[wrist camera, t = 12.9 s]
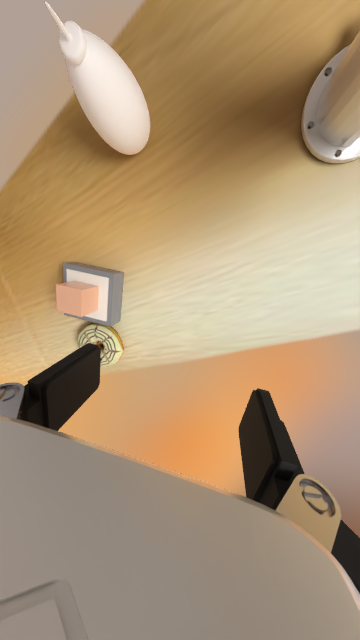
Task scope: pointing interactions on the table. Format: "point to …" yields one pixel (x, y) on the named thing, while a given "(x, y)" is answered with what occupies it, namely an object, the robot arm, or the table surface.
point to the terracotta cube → (77, 298)
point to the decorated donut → (107, 337)
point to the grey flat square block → (108, 290)
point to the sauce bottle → (104, 88)
